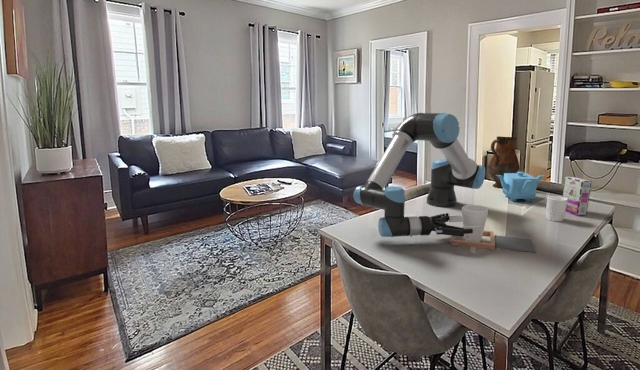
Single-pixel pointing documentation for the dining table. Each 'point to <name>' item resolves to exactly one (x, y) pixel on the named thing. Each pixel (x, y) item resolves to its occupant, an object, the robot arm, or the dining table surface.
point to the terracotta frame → (476, 244)
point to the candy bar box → (577, 195)
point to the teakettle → (519, 185)
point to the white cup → (556, 208)
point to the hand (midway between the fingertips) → (472, 223)
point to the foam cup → (474, 220)
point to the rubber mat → (515, 244)
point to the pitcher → (503, 159)
